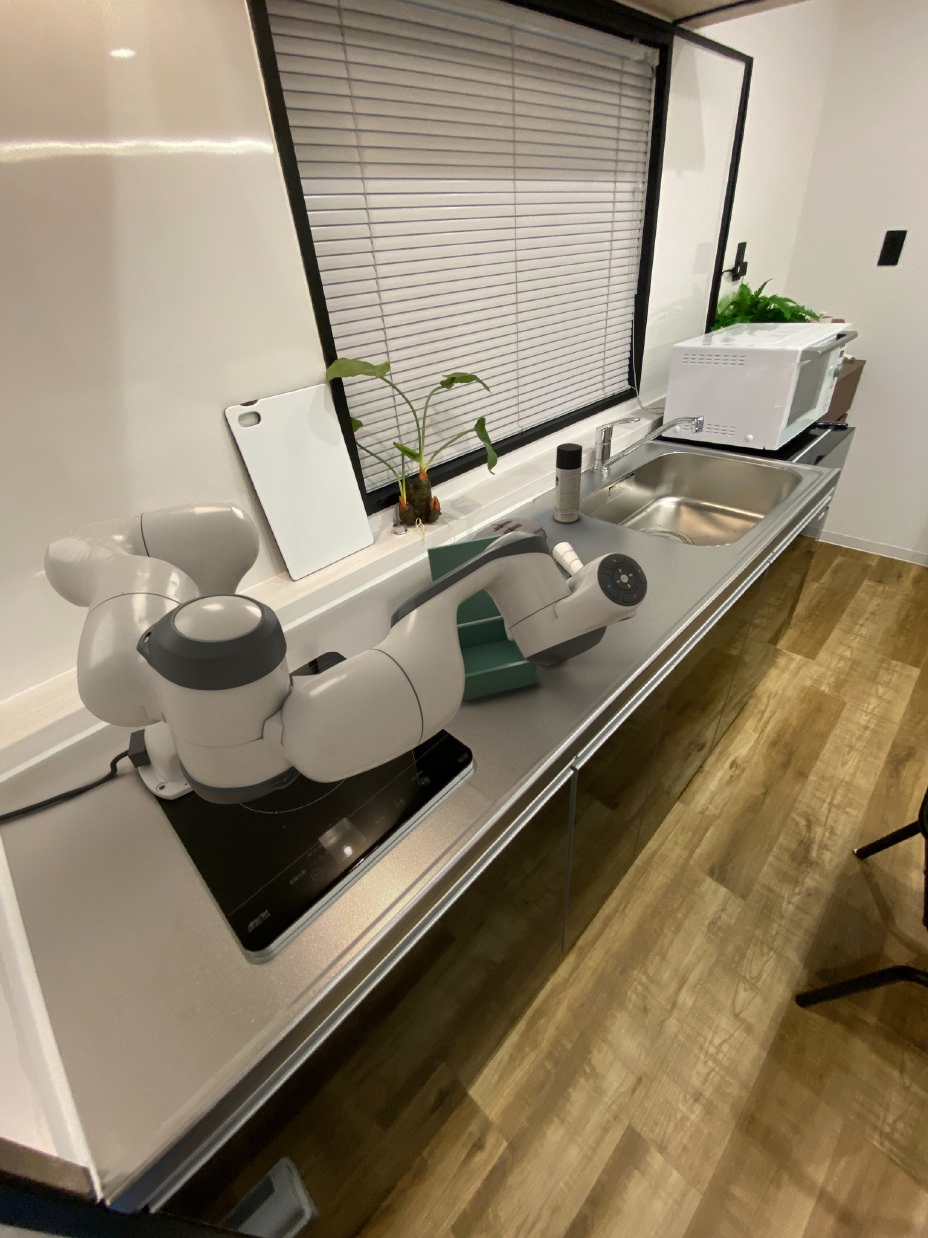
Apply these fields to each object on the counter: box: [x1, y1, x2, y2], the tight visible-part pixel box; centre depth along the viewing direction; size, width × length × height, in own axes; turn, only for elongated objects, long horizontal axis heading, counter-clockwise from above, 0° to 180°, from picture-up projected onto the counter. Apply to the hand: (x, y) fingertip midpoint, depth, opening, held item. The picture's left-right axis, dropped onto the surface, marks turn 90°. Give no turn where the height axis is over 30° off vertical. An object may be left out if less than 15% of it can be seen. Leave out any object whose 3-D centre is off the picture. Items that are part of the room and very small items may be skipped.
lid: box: [426, 535, 502, 626], centre depth 97 cm, size 15×14×1 cm
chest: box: [457, 616, 538, 702], centre depth 96 cm, size 15×14×6 cm
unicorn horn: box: [552, 541, 585, 577], centre depth 119 cm, size 5×24×5 cm, turn 11°
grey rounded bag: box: [472, 517, 548, 542], centre depth 132 cm, size 15×8×20 cm
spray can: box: [554, 442, 583, 524], centre depth 143 cm, size 7×7×20 cm
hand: (553, 624), depth 94 cm, fingers open, 8 cm apart
